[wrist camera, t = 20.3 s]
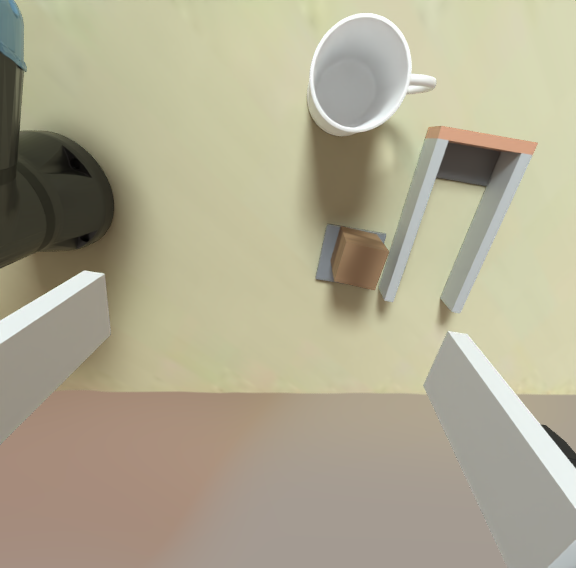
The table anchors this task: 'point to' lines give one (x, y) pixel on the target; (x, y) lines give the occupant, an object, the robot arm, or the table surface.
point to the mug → (361, 75)
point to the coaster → (327, 249)
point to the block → (358, 258)
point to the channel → (490, 213)
